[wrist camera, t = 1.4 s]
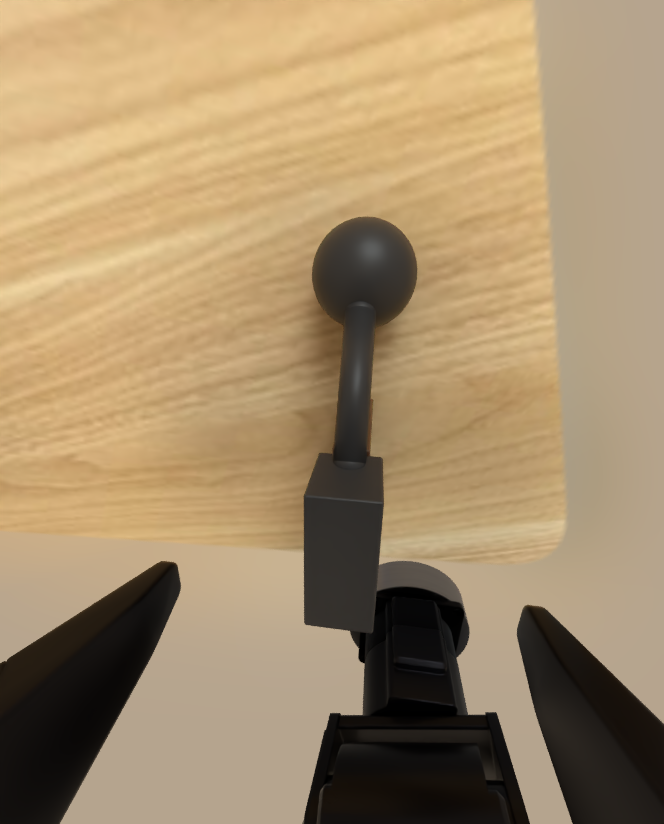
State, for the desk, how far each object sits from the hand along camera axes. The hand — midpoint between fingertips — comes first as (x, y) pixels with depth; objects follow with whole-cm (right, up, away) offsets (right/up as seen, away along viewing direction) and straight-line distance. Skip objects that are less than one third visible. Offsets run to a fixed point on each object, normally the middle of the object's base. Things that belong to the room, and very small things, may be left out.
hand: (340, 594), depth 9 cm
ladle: (+1, +6, +6) cm, 9 cm away
